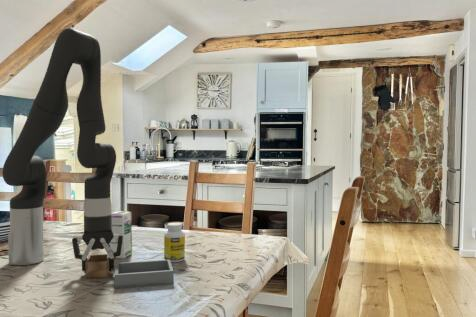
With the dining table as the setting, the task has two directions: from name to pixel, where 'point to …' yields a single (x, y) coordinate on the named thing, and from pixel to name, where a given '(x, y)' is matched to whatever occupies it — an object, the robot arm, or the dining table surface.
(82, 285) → the dining table surface
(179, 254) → the pill bottle
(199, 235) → the dining table surface
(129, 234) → the syrup box
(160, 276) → the crate big
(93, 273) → the crate small
